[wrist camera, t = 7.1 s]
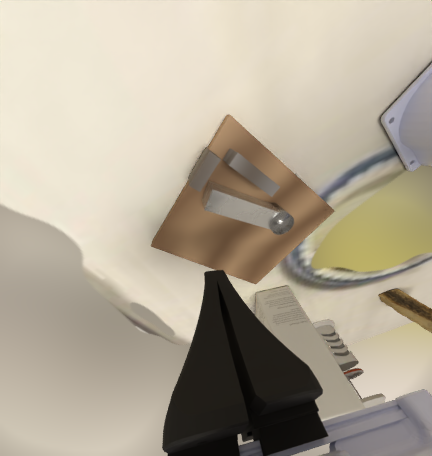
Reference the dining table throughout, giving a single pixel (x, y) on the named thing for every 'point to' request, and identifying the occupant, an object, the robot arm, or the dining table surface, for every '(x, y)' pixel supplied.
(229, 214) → the swing bar
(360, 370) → the french press
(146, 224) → the dining table surface
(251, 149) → the lock board
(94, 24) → the dining table surface
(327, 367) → the skincare box
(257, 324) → the robot arm
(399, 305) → the rock
